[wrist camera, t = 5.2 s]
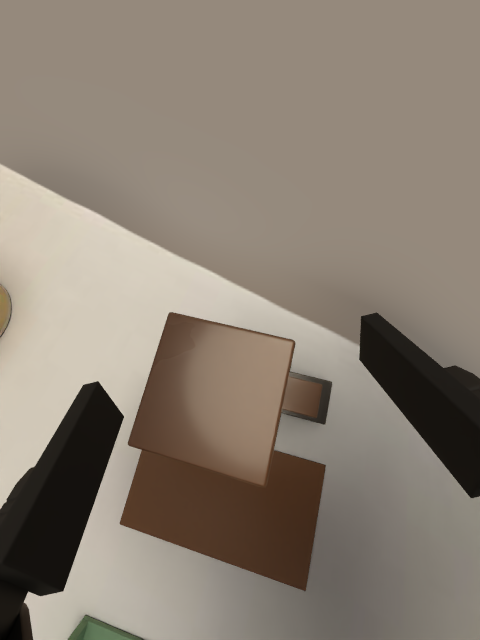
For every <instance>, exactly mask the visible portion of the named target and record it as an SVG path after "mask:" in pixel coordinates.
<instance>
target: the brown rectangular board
mask: <svg viewBox="0 0 480 640" xmlns="http://www.w3.org/2000/svg"><path fill="white" fill-rule="evenodd" d="M325 467H326V465H323V464H320V463H316V462H313V461H309V460H306V459H302V458H299V457H296V456H292V455H289V454H285V453H282V452H278V451H275V450H274V452H273V457H272V461H271V466H270V471H269V476H268V481H267V485H266V487H260V486H256V485H253V484H250V483H247V482H244V481H240V480H237V479H234V478H231V477H228V476H224V475H221V474H218V473H215V472H212V471H208V470H205V469H202V468H199V467H196V466H192V465H189V464H186V463H183V462H180V461H176V460H173V459H170V458H167V457H164V456H160V455H157V454H154V453H151V452H148V451H144V450H142V452H141V455H140V458H139V462H138V465H137V468H136V471H135V475H134V478H133V481H132V485H131V488H130V491H129V495H128V498H127V501H126V504H125V508H124V511H123V514H122V518H121V521H120V524H121V525H124V526H126V527H129V528H132V529H135V530H137V531H140V532H143V533H146V534H149V535H151V536H154V537H157V538H160V539H162V540H165V541H168V542H171V543H174V544H176V545H179V546H182V547H185V548H187V549H190V550H193V551H196V552H198V553H201V554H204V555H207V556H210V557H212V558H215V559H218V560H221V561H223V562H226V563H229V564H232V565H235V566H237V567H240V568H243V569H246V570H248V571H251V572H254V573H257V574H260V575H262V576H265V577H268V578H271V579H273V580H276V581H279V582H282V583H284V584H287V585H290V586H293V587H296V588H298V589H301V590H304V591H306V585H307V579H308V573H309V566H310V560H311V554H312V548H313V542H314V535H315V529H316V523H317V517H318V510H319V504H320V498H321V492H322V486H323V479H324V473H325Z"/></svg>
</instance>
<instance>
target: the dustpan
mask: <svg viewBox="0 0 480 640" xmlns="http://www.w3.org/2000/svg"><path fill="white" fill-rule="evenodd" d="M68 640H143V639H140V638H138V637H136V636H133V635H131V634H129V633H126V632H124V631H122V630H119V629H117V628H114V627H112V626H110V625H107V624H105V623H103V622H100V621H98V620H95V619H93V618H91V617H88V616H86V615H85V617H84V618H83V620H82V621H81V622H80V624H79V625H78V626H77V628H76V629H75V630H74V632H73V633H72V634H71V636H70V637H69V638H68Z"/></svg>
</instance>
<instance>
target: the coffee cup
mask: <svg viewBox="0 0 480 640" xmlns="http://www.w3.org/2000/svg"><path fill="white" fill-rule="evenodd" d="M10 314H11V301H10V297H9V295H8V293H7V291H6V290H5V288H4V287H3V286H2V285H0V336H1V335H2V333H3V332H4V330H5V328H6V327H7V324H8V322H9V319H10Z"/></svg>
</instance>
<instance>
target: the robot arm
mask: <svg viewBox="0 0 480 640" xmlns="http://www.w3.org/2000/svg"><path fill="white" fill-rule="evenodd" d="M359 360H360V361H361V362H362V363H363V365H364V366H365V367H366V368H367V370H368V371H369V372H370V373H371V375H372V376H373V377H374V378H375V379H376V381H377V382H378V383H379V384H380V386H381V387H382V388H383V389H384V391H385V392H386V393H387V394H388V396H389V397H390V398H391V399H392V401H393V402H394V403H395V404H396V406H397V407H398V408H399V409H400V411H401V412H402V413H403V414H404V416H405V417H406V418H407V419H408V421H409V422H410V423H411V424H412V425H413V427H414V428H415V429H416V430H417V432H418V433H419V434H420V435H421V437H422V438H423V439H424V440H425V442H426V443H427V444H428V445H429V447H430V448H431V449H432V450H433V452H434V453H435V454H436V455H437V457H438V458H439V459H440V460H441V462H442V463H443V464H444V465H445V467H446V468H447V469H448V470H449V471H450V473H451V474H452V475H453V476H454V478H455V479H456V480H457V481H458V483H459V484H460V485H461V486H462V488H463V489H464V490H465V491H466V493H467V494H468V495H469V496H470V498H474V497H479V496H480V379H479V378H478V377H477V376H475V375H474V374H473V373H470V372H468V371H466V370H464V369H462V368H460V367H457V366H451V367H447V368H443V367H441V366H440V365H439V364H438V363H437V362H435V361H434V360H433V359H432V358H431V357H429V356H428V355H427V354H426V353H425V352H424V351H422V350H421V349H420V348H419V347H418V346H416V345H415V344H414V343H413V342H412V341H410V340H409V339H408V338H407V337H406V336H404V335H403V334H402V333H401V332H400V331H398V330H397V329H396V328H395V327H394V326H392V325H391V324H390V323H389V322H388V321H386V320H385V319H384V318H383V317H382V316H380V315H379V314H378V313H373V314H369V315H365V316H361V333H360V358H359ZM123 418H124V416H123V414H122V413H121V412H120V410H119V409H118V408H117V406H116V405H115V404H114V402H113V401H112V399H111V398H110V397H109V395H108V394H107V393H106V391H105V390H104V389H103V387H102V386H101V384H100V383H99V382H93V383H89V384H85V385H83V386H82V388H81V390H80V391H79V393H78V395H77V396H76V398H75V400H74V402H73V403H72V405H71V407H70V408H69V410H68V412H67V413H66V415H65V417H64V418H63V420H62V422H61V424H60V425H59V427H58V429H57V430H56V432H55V434H54V435H53V437H52V439H51V440H50V442H49V444H48V445H47V447H46V449H45V451H44V452H43V454H42V456H41V457H40V459H39V461H38V462H37V464H36V466H35V467H33V468H30V469H29V470H28V471H27V472H26V474H25V475H24V476H23V477H22V478H21V479H20V480H19V481H18V482H17V484H16V485H15V487H14V488H13V490H12V492H11V493H10V495H9V497H8V498H7V502H6V503H4V505H3V506H2V508H1V509H0V640H33V636H32V629H31V622H30V615H29V609H28V607H27V605H26V604H25V603H23V602H24V600H25V598H26V595H27V593H28V591H29V592H31V593H34V594H36V595H39V596H44V595H48V594H53V593H57V592H61V591H64V588H65V585H66V582H67V579H68V576H69V573H70V570H71V568H72V565H73V562H74V559H75V556H76V553H77V550H78V548H79V545H80V542H81V539H82V536H83V533H84V530H85V527H86V525H87V522H88V519H89V516H90V513H91V510H92V507H93V504H94V502H95V499H96V496H97V493H98V490H99V487H100V484H101V481H102V479H103V476H104V473H105V470H106V467H107V464H108V461H109V458H110V456H111V453H112V450H113V447H114V444H115V441H116V438H117V435H118V433H119V430H120V427H121V424H122V421H123Z"/></svg>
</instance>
